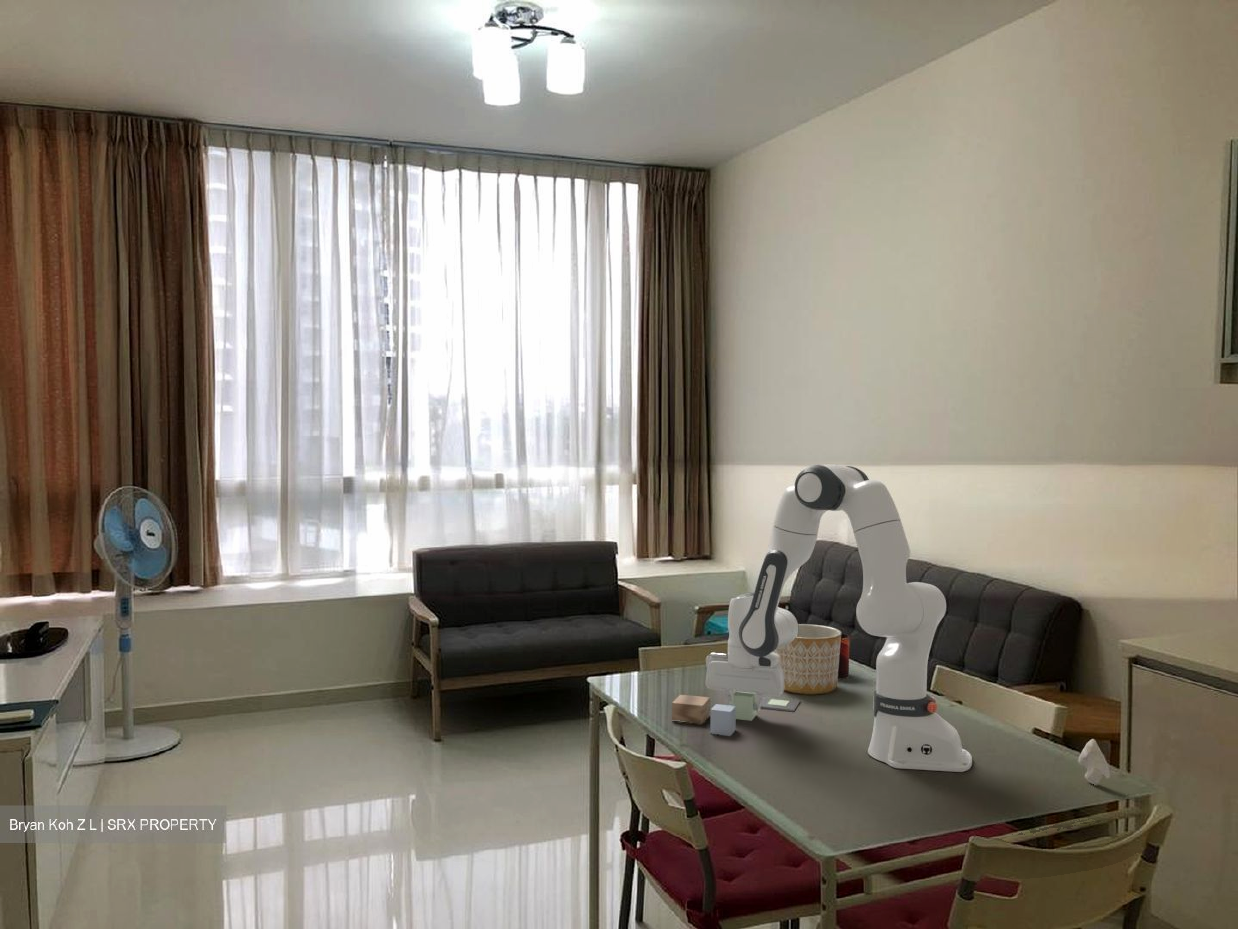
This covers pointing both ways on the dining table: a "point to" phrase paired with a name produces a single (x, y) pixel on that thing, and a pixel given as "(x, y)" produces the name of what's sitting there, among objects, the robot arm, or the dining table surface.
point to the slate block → (723, 720)
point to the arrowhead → (1094, 762)
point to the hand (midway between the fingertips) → (744, 708)
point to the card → (779, 703)
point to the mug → (844, 657)
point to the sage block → (744, 705)
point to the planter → (811, 660)
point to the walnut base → (691, 709)
